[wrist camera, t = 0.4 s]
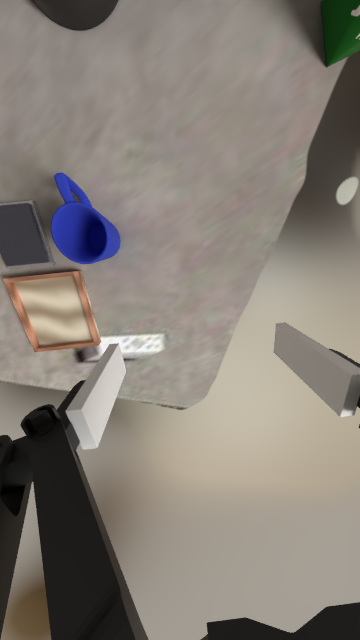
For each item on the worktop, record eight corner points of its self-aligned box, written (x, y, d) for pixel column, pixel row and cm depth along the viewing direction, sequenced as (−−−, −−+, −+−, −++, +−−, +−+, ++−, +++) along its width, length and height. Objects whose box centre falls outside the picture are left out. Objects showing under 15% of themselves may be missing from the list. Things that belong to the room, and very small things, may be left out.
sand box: (10, 277, 37) (2, 278, 35) (81, 270, 37) (77, 271, 35) (39, 348, 43) (34, 352, 41) (101, 341, 43) (98, 345, 41)
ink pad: (-15, 206, 32) (-23, 204, 31) (35, 201, 33) (29, 199, 31) (10, 268, 36) (4, 269, 35) (55, 264, 36) (51, 264, 35)
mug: (108, 187, 32) (82, 159, 23) (131, 255, 37) (117, 255, 27) (65, 200, 33) (23, 178, 23) (93, 266, 37) (67, 270, 28)
